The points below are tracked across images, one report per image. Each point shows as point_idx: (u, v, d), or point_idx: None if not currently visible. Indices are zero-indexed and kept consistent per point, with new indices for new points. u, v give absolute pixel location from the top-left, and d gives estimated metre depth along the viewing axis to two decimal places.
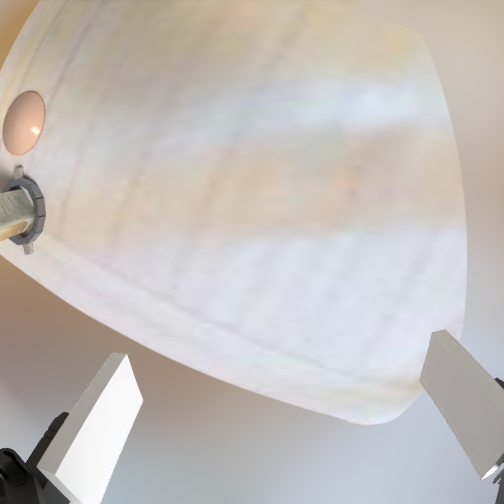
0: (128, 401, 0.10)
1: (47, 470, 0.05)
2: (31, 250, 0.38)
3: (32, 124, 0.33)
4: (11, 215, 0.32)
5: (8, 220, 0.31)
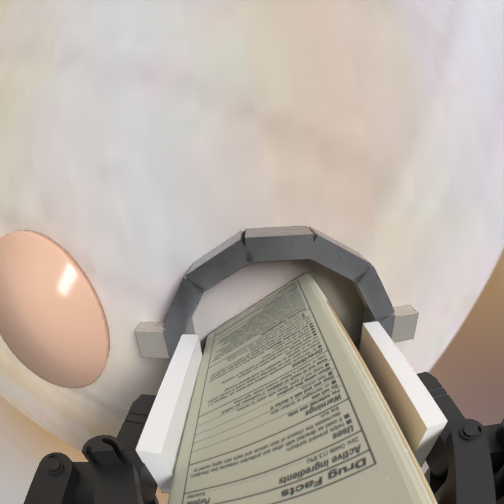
0: None
1: (150, 451, 0.06)
2: (407, 310, 0.14)
3: (33, 272, 0.13)
4: (298, 355, 0.08)
5: (325, 366, 0.07)
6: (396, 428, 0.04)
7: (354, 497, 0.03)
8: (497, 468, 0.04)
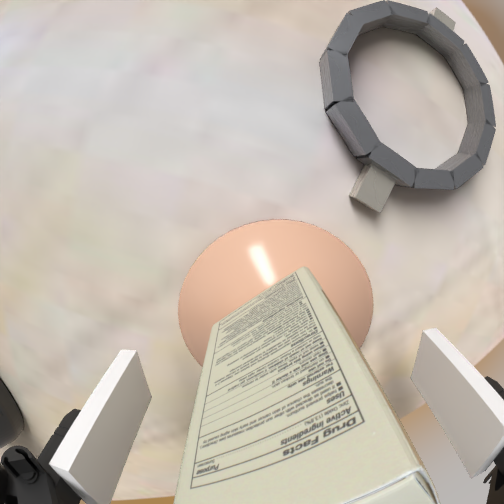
0: (138, 397, 0.10)
1: (60, 467, 0.05)
2: (431, 13, 0.10)
3: (237, 280, 0.15)
4: (296, 336, 0.09)
5: (320, 344, 0.08)
6: (381, 392, 0.05)
7: (347, 451, 0.04)
8: None
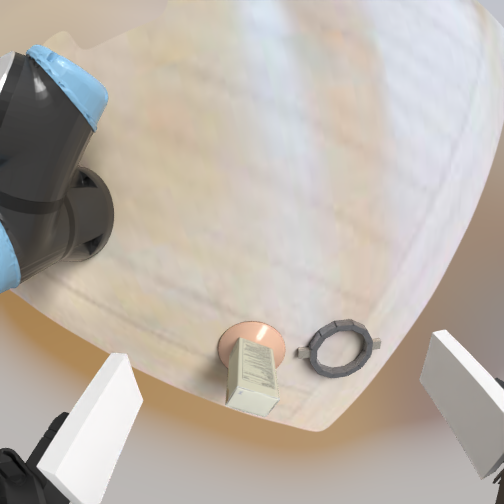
0: (128, 401, 0.10)
1: (47, 470, 0.05)
2: (377, 340, 0.46)
3: (258, 336, 0.45)
4: (267, 367, 0.40)
5: (271, 373, 0.39)
6: None
7: (271, 390, 0.36)
8: None
